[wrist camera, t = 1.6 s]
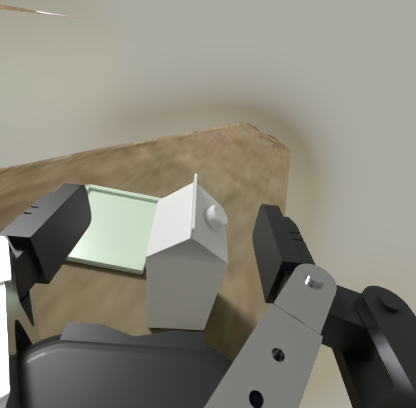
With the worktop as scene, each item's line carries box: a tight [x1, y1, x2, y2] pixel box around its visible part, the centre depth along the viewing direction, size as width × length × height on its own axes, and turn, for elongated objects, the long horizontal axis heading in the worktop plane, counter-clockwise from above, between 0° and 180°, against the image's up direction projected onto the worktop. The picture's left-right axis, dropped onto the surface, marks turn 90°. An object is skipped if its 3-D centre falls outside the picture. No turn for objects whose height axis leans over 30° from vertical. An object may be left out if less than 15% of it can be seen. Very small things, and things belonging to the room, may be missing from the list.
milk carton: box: [146, 174, 228, 330], centre depth 26 cm, size 7×7×19 cm
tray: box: [66, 184, 163, 275], centre depth 40 cm, size 16×16×1 cm
